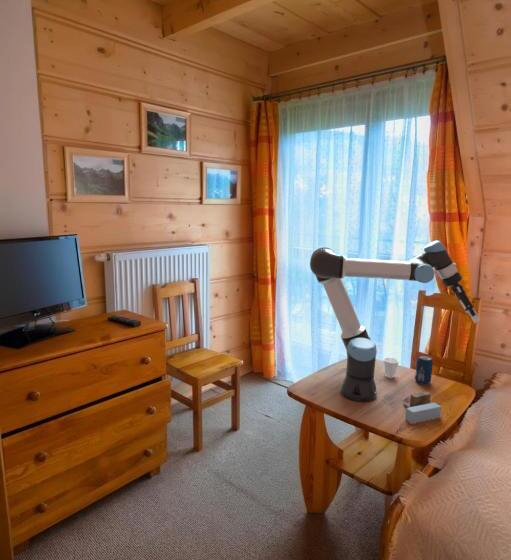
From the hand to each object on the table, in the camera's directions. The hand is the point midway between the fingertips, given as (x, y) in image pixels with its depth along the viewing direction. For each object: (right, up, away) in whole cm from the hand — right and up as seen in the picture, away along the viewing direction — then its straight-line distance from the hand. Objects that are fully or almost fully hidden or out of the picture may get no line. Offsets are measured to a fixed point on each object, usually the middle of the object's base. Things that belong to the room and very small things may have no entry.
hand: (473, 316), depth 184 cm
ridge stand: (-27, -36, -10) cm, 46 cm away
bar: (-29, -38, -18) cm, 51 cm away
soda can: (-16, -32, +15) cm, 39 cm away
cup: (-30, -30, +22) cm, 48 cm away
